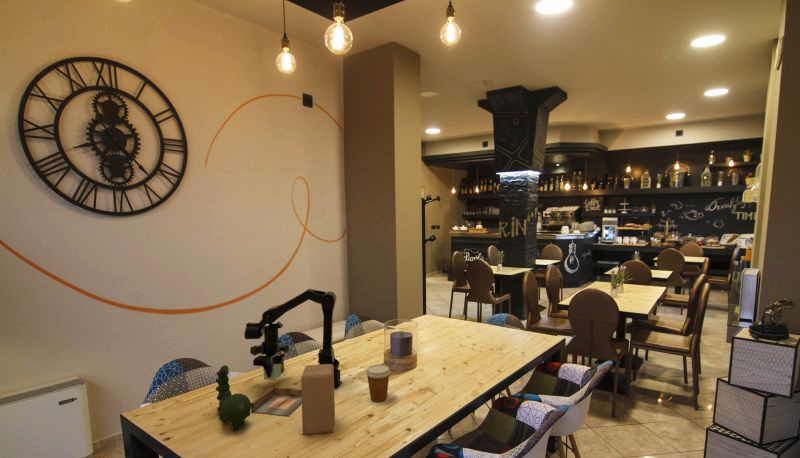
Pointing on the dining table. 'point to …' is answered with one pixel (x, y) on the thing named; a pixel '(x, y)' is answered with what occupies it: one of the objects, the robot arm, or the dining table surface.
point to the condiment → (282, 366)
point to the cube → (274, 372)
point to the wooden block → (318, 399)
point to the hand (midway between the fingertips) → (272, 374)
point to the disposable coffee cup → (378, 382)
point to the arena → (278, 401)
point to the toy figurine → (231, 402)
